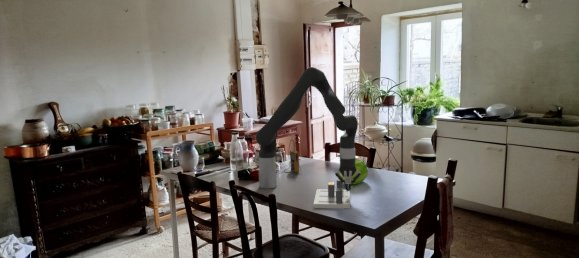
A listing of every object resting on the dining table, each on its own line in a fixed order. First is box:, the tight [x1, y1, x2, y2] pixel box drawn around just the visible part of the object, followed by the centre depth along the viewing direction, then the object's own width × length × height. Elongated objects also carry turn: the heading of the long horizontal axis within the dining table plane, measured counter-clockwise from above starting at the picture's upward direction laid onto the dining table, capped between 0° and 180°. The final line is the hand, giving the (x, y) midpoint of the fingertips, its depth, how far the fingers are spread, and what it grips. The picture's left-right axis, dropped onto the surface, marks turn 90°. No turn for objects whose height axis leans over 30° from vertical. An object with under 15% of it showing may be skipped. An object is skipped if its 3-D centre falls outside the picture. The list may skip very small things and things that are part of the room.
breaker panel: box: [313, 188, 351, 209], centre depth 201 cm, size 17×22×2 cm
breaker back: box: [336, 177, 344, 192], centre depth 207 cm, size 3×4×6 cm
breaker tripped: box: [327, 181, 336, 197], centre depth 200 cm, size 3×4×6 cm
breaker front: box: [335, 187, 342, 203], centre depth 192 cm, size 3×4×6 cm
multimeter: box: [283, 139, 302, 175], centre depth 252 cm, size 15×10×20 cm
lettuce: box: [338, 158, 369, 185], centre depth 225 cm, size 15×22×15 cm
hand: (348, 190), depth 199 cm, fingers closed
